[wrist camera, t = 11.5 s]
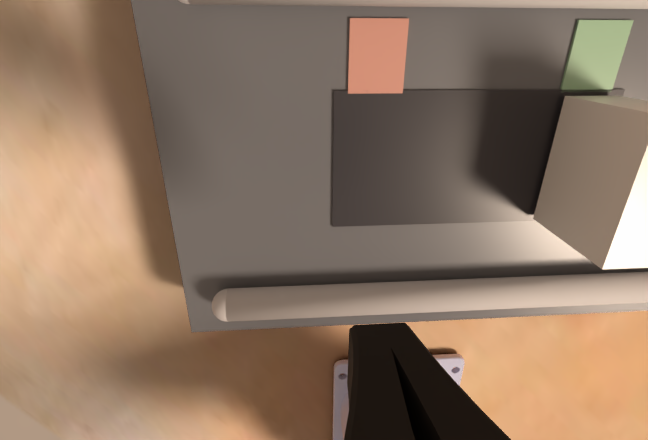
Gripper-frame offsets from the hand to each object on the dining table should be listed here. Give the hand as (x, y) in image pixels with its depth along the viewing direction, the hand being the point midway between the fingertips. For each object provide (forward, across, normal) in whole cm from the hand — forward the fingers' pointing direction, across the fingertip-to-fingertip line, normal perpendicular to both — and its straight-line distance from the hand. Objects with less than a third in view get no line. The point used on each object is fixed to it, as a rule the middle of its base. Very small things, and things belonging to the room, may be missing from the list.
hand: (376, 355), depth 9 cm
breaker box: (+10, -5, -2) cm, 12 cm away
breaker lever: (+7, -9, -3) cm, 12 cm away
